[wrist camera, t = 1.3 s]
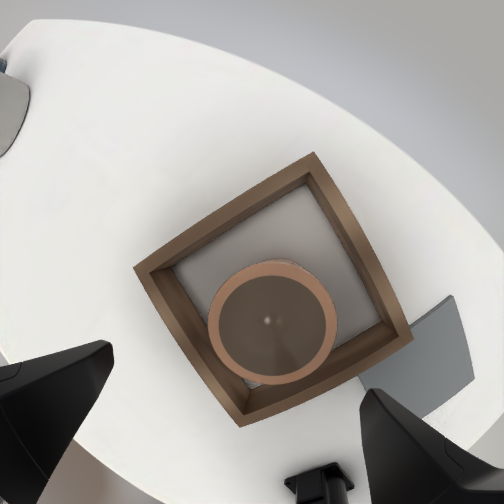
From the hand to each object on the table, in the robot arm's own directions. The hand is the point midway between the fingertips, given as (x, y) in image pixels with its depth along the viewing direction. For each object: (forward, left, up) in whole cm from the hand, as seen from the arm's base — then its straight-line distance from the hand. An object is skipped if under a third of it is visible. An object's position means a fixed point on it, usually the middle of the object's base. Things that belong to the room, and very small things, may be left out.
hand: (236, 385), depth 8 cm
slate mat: (-14, -9, -14) cm, 22 cm away
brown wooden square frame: (0, -1, -14) cm, 14 cm away
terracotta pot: (0, -1, -14) cm, 14 cm away
